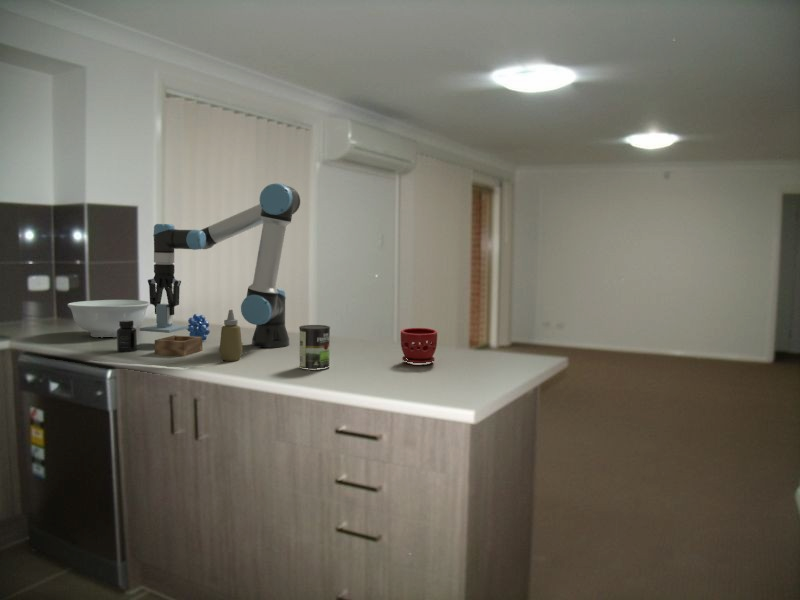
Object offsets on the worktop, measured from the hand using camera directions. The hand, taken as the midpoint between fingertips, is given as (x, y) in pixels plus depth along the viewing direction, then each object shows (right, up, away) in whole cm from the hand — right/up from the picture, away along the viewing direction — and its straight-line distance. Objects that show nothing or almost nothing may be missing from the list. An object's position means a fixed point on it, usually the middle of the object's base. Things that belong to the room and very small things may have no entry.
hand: (164, 322), depth 243 cm
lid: (0, -3, 0) cm, 3 cm away
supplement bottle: (-9, -11, -12) cm, 19 cm away
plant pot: (+99, -14, -23) cm, 103 cm away
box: (+11, -11, -14) cm, 21 cm away
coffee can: (+64, -14, -33) cm, 73 cm away
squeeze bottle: (+32, -13, -22) cm, 41 cm away
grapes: (+10, -9, +14) cm, 19 cm away
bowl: (-34, -7, +28) cm, 45 cm away
